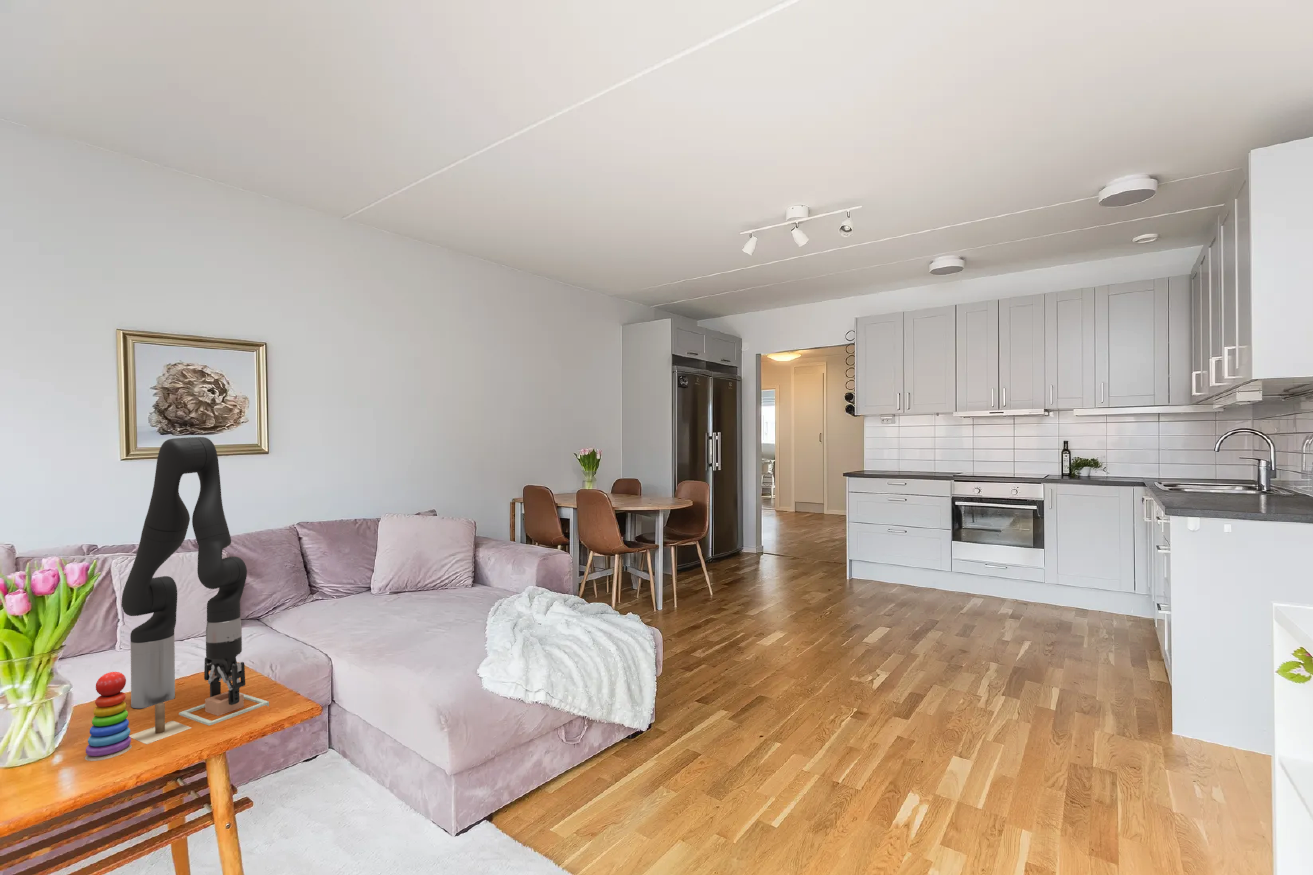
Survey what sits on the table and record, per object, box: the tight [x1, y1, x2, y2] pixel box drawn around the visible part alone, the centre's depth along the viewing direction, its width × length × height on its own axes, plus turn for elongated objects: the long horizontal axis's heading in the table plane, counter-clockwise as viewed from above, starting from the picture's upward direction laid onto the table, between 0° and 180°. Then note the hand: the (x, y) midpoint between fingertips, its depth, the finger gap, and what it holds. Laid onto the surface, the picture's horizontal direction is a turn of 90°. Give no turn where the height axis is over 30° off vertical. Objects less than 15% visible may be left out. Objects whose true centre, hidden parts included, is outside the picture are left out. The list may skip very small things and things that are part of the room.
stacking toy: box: [84, 671, 132, 762], centre depth 136 cm, size 8×8×19 cm
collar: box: [204, 691, 245, 717], centre depth 158 cm, size 6×7×4 cm
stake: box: [129, 702, 192, 745], centre depth 146 cm, size 9×9×8 cm
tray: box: [178, 692, 270, 726], centre depth 158 cm, size 14×14×2 cm
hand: (224, 700), depth 158 cm, fingers open, 8 cm apart
